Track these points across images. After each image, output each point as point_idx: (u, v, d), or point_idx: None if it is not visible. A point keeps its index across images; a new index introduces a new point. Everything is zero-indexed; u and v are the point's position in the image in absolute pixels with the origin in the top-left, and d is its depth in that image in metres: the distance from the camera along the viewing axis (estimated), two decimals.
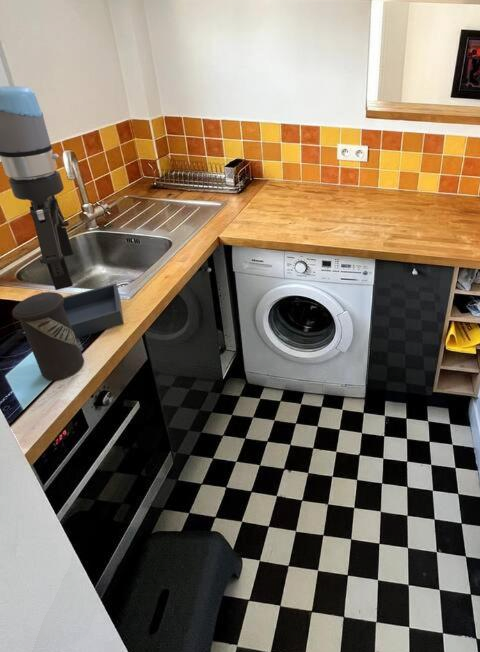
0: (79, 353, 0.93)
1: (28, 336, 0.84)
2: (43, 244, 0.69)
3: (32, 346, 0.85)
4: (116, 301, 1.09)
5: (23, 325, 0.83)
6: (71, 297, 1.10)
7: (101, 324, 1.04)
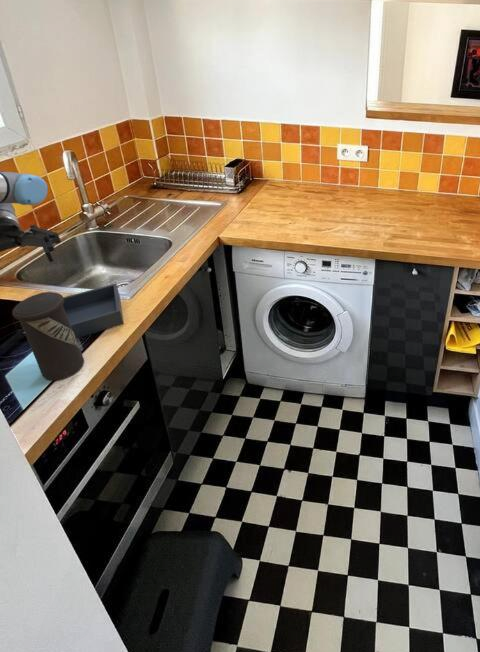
0: (79, 353, 0.93)
1: (28, 336, 0.84)
2: None
3: (32, 346, 0.85)
4: (116, 301, 1.09)
5: (23, 325, 0.83)
6: (71, 297, 1.10)
7: (101, 324, 1.04)
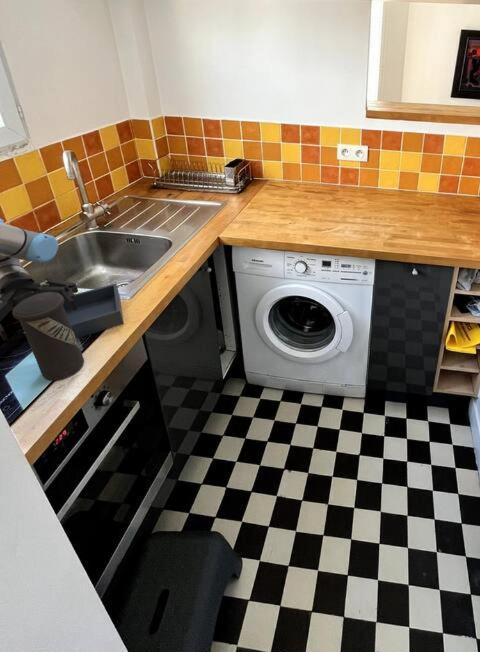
0: (79, 353, 0.93)
1: (28, 336, 0.84)
2: None
3: (32, 346, 0.85)
4: (116, 301, 1.09)
5: (23, 325, 0.83)
6: None
7: (101, 324, 1.04)
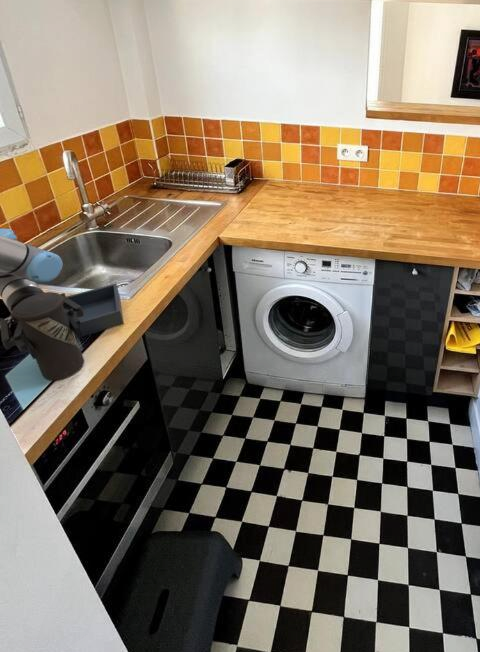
0: (79, 353, 0.93)
1: (28, 336, 0.84)
2: None
3: None
4: (116, 301, 1.09)
5: (23, 325, 0.83)
6: (71, 297, 1.10)
7: (101, 324, 1.04)
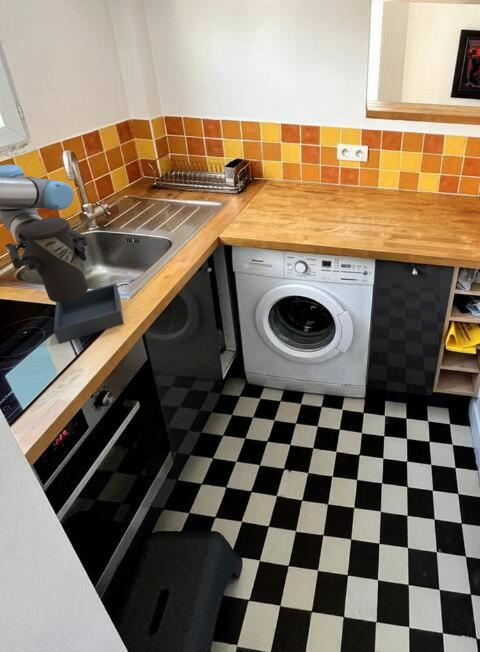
0: (83, 279, 0.97)
1: (36, 256, 0.89)
2: None
3: None
4: (116, 301, 1.09)
5: (31, 244, 0.88)
6: None
7: (101, 324, 1.04)
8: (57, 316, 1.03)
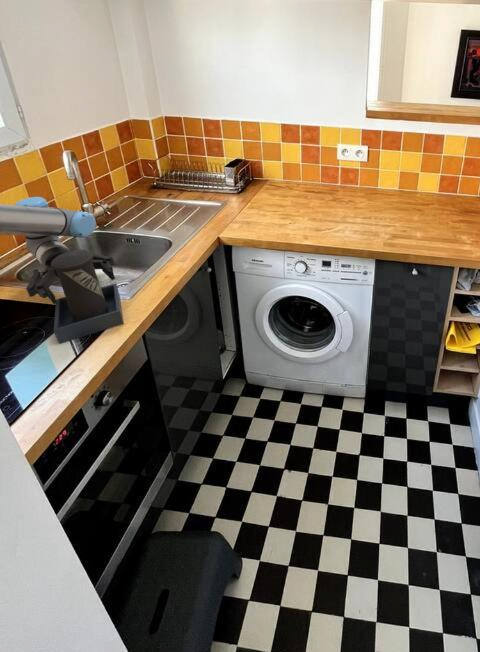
0: (104, 303, 1.08)
1: (64, 285, 1.00)
2: None
3: (67, 294, 1.01)
4: (116, 301, 1.09)
5: (60, 275, 0.98)
6: None
7: (101, 324, 1.04)
8: (57, 316, 1.03)
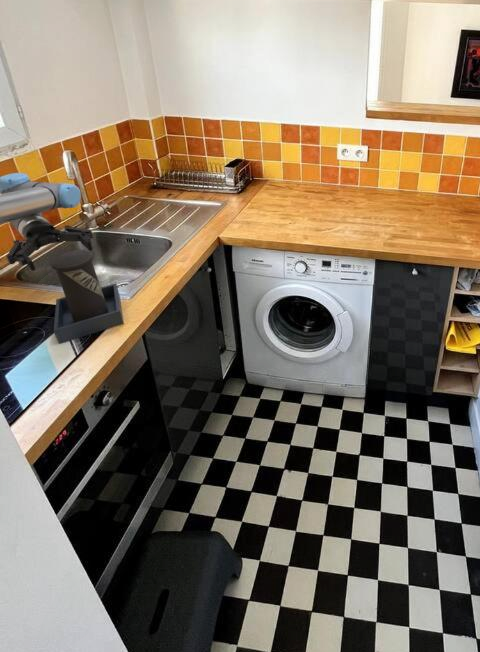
0: (104, 303, 1.08)
1: (64, 285, 1.00)
2: None
3: (67, 294, 1.01)
4: (116, 301, 1.09)
5: (60, 275, 0.98)
6: None
7: (101, 324, 1.04)
8: (57, 316, 1.03)
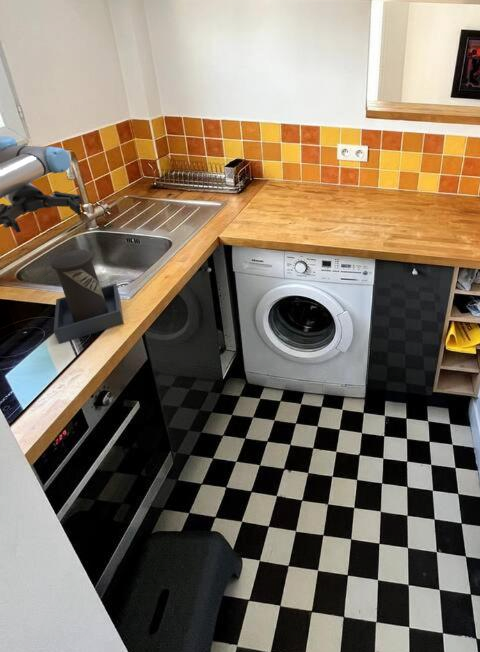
0: (104, 303, 1.08)
1: (64, 285, 1.00)
2: None
3: (67, 294, 1.01)
4: (116, 301, 1.09)
5: (60, 275, 0.98)
6: None
7: (101, 324, 1.04)
8: (57, 316, 1.03)
